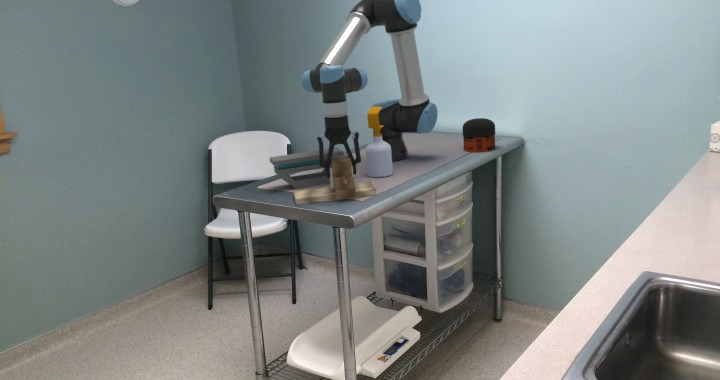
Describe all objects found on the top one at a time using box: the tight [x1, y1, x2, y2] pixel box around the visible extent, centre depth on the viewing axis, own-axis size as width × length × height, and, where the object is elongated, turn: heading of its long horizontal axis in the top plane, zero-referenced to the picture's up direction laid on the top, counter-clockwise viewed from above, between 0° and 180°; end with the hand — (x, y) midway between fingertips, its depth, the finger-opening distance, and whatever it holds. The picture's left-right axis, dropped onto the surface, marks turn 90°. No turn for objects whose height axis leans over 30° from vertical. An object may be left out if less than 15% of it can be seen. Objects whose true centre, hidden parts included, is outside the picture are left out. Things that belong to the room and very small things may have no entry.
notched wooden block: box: [330, 154, 356, 201], centre depth 199 cm, size 6×11×12 cm, turn 10°
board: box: [293, 181, 377, 206], centre depth 203 cm, size 26×10×2 cm, turn 100°
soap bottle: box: [365, 106, 393, 178], centre depth 222 cm, size 9×9×25 cm
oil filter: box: [462, 117, 496, 154], centre depth 252 cm, size 13×12×13 cm
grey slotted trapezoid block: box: [269, 147, 345, 190], centre depth 220 cm, size 25×8×11 cm, turn 108°
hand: (342, 185), depth 202 cm, fingers closed on notched wooden block, 6 cm apart
